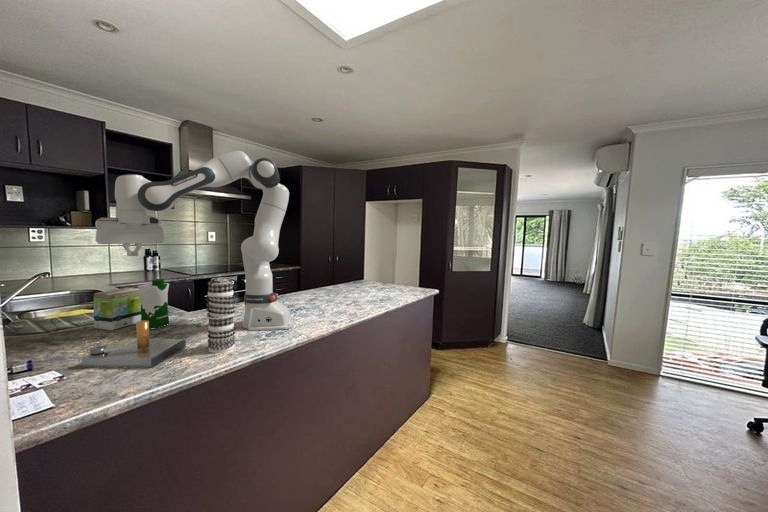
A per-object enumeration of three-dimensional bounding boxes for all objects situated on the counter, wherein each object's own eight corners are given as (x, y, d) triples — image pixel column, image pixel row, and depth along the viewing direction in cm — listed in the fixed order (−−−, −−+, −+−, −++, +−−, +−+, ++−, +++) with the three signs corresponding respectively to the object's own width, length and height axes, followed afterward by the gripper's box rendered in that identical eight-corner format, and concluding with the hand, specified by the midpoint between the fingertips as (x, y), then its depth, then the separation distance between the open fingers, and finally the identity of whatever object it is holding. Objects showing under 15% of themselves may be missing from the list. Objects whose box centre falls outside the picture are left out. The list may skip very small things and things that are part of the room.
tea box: (113, 330, 123) (111, 294, 122) (93, 328, 125) (91, 293, 124) (148, 320, 138) (147, 288, 137) (130, 318, 140) (129, 286, 139)
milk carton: (155, 330, 125) (153, 281, 124) (136, 328, 126) (134, 280, 125) (173, 323, 134) (171, 278, 132) (154, 322, 135) (153, 277, 133)
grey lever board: (185, 347, 108) (185, 338, 108) (152, 368, 92) (152, 357, 92) (125, 346, 107) (125, 337, 107) (82, 367, 91) (81, 356, 91)
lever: (88, 355, 91) (86, 328, 90) (93, 351, 94) (91, 324, 93) (148, 348, 97) (147, 322, 97) (150, 344, 101) (150, 319, 100)
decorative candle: (202, 353, 103) (200, 280, 101) (212, 343, 112) (211, 276, 110) (231, 352, 105) (230, 280, 103) (239, 342, 114) (238, 276, 112)
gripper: (99, 217, 103) (101, 258, 104) (165, 220, 121) (166, 254, 122) (91, 217, 106) (92, 257, 107) (157, 219, 124) (158, 254, 125)
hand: (132, 255), depth 115 cm, fingers closed
